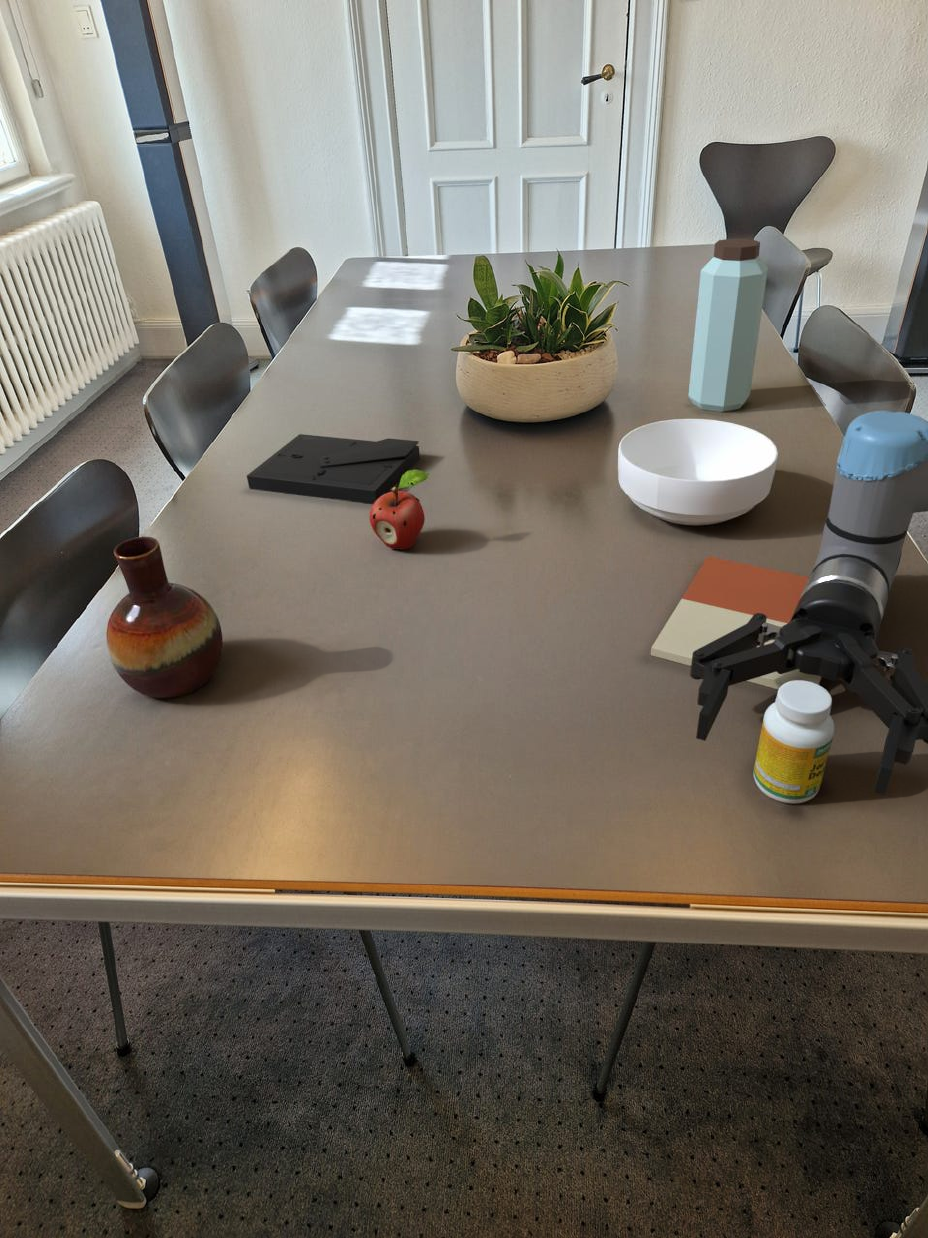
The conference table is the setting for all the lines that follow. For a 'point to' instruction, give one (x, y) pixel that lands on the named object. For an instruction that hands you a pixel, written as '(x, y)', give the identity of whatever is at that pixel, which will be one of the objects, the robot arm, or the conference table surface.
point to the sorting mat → (730, 611)
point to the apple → (399, 513)
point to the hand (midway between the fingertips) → (788, 753)
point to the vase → (160, 627)
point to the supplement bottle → (794, 742)
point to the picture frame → (336, 467)
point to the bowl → (696, 469)
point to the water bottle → (727, 325)
